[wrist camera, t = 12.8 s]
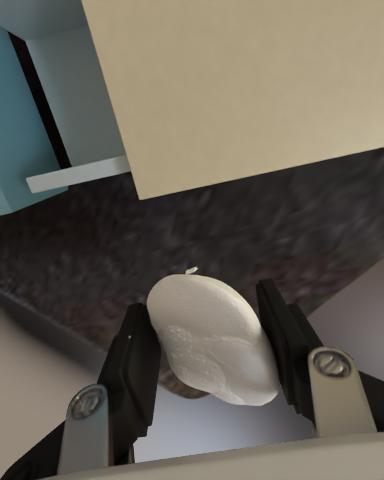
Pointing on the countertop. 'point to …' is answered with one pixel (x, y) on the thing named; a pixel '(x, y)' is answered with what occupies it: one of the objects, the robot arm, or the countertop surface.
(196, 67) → the cabinet
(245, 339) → the dumpling
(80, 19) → the drawer
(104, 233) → the countertop surface
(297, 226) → the countertop surface
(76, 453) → the robot arm
